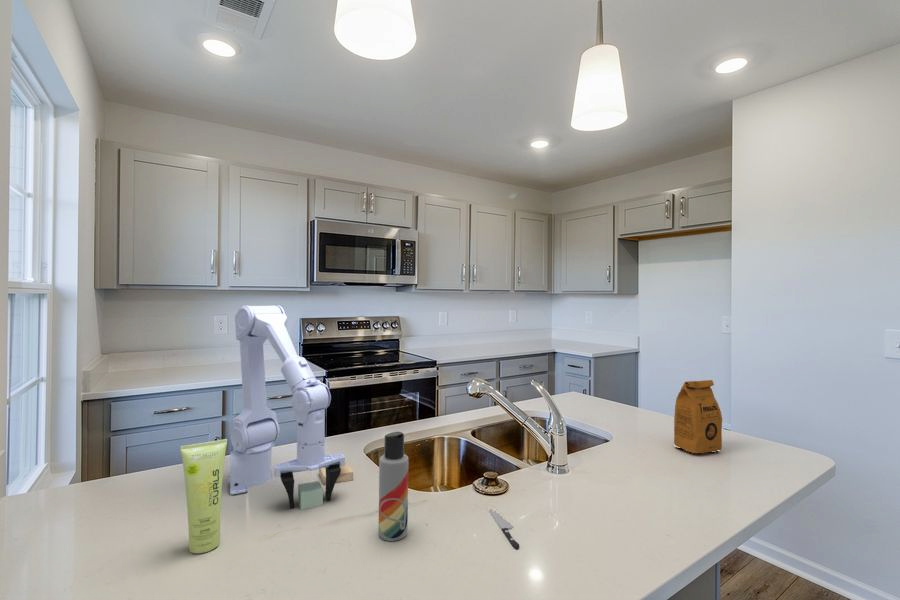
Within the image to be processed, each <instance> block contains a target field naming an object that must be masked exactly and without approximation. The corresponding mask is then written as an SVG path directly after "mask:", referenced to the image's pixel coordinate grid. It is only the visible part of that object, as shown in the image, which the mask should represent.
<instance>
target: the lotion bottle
mask: <svg viewBox="0 0 900 600" xmlns="http://www.w3.org/2000/svg"><path fill="white" fill-rule="evenodd" d="M383 444H384V449H383V450H384V451H383V453H384V454H382V455H381V456H380V457H379V461H378V462H379V464H378V465H379V467H378V474H379V476H378V536H379V537H380V538H381V540H384V541H387V542H397V541H399V540H400V541H401V540H402V539H404V538H405V537H406V536H407V535H408V534H407V533H408V524H409V523H408V516H409V513H408V512H409V456H408V455H407V454H405V434H404V433H403V432H402V431H393V432H390V433H387V434H385V435H384V443H383Z"/></svg>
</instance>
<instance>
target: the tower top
mask: <svg viewBox="0 0 900 600" xmlns="http://www.w3.org/2000/svg"><path fill="white" fill-rule="evenodd" d="M340 468H341V473H340V475H339V477H338V479H337V481H336V483H335V484H339V482H340V483H344V482H350V480H351V481H354V471H353V469H352V468H351V467H350V465H349V463H348V461H345V465H344V466H340ZM319 475H320V476H319ZM318 476H319V478H320V477H321V478H320V480H321V482H322V484H323V486H326V468H319V469H318Z"/></svg>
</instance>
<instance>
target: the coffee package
mask: <svg viewBox="0 0 900 600" xmlns="http://www.w3.org/2000/svg"><path fill="white" fill-rule="evenodd" d="M714 385H715V383H714V381H713V380H712V379H709V380H706V379H705V380H691V381H684V383H683V384H682V386H681V388H680V391H679V392H678V394H677V396H676V399H675V406H674V416H673V417H674V419H673V423H674V424H673V425H674V426H673V427H674V428H673V431H674V432H673V433H674V437H673V438H674V439H673V445H674V444H675V445H676V446H678V447H680V448H682V449H684V450H683V451H685V450H687V451H689V452H692V453H691V454H693V453H701V454H705V453H704V452H712V451H717V450H720V451H722V448H723V440H722V439H723V438H722V437H723V436H722V435H723V434H722V429H723V417H722V411H721V408H720V405H719V403H718V401H717V399H716V397H715V395H714V392H713V389H712V388H711V387H713V386H714ZM687 451H686V452H687ZM689 452H688V453H689Z"/></svg>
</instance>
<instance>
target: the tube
mask: <svg viewBox="0 0 900 600" xmlns="http://www.w3.org/2000/svg"><path fill="white" fill-rule="evenodd" d="M227 445H228V438H224V439H220V440H213V441H212V440H211V441H206V442H199V443H193V444H188V445H187V444H186V445H181V446H179V451H180V454H181V459H182V467H183V468H182V469H183V473H184V474H183V477H184V482H185V483H184V484H185V496H186V509H187V510H186V511H187V525H188V526H187V528H188V547H189V549H188V550H189V551H190V553H192V554H203V553H208V552H210V551H212V550H214V549H216V548H217V547H218V546H219V544H220V542H221V517H222V515H221V513H222V512H221V511H222V495H223V494H222V491H223V480H224V479H223V478H224V476H223V475H224V469H225V459H226V451H227Z"/></svg>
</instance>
